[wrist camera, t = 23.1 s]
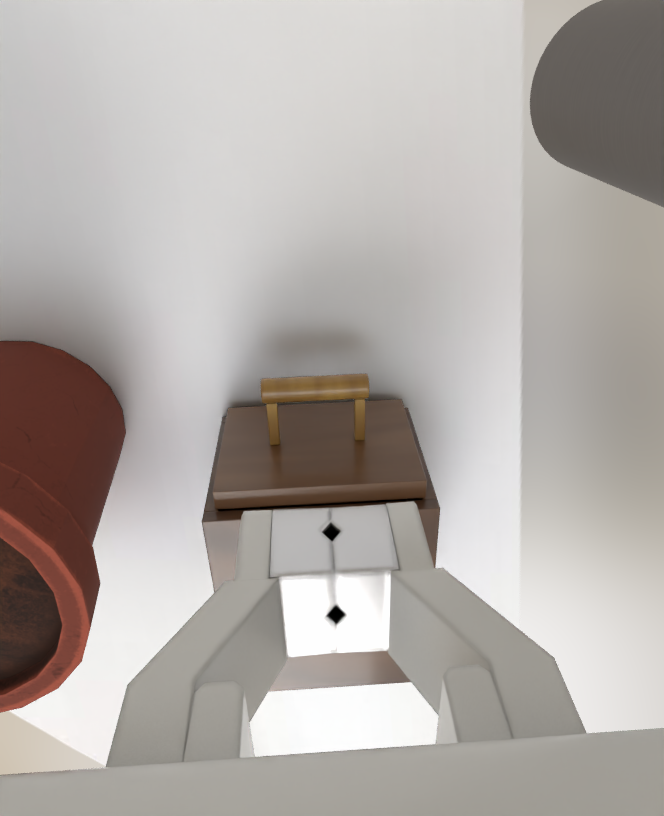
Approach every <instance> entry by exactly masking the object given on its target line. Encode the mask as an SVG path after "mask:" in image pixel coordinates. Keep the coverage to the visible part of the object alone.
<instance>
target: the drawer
mask: <svg viewBox="0 0 664 816" xmlns="http://www.w3.org/2000/svg"><path fill="white" fill-rule="evenodd" d="M365 398H369V378H368V374H347V375H327V376H306V377H286V378H265V379H261V399H262V403H264V404H265V403H266V406H255V407H236V408H228V411H227V416H226V422H225V427H224V433H223V438H222V443H221V449H220V454H219V460H218V465H217V471H216V476H215V481H214V487H213V492H212V493H213V499H214V505H215V509H232V508H234V509H233V511H234V510H252V509H270V508H288V507H305V506H323V505H341V504H359V503H377V502H394V501H408V500H407V499H410V498H425V497H426V486H427V479H426V476H425V473H424V470H423V467H422V463H421V460H420V457H419V454H418V450H417V447H416V444H415V441H414V438H413V434H412V431H411V428H410V425H409V421H408V418H407V415H406V412H405V408H404V405H403V402H402V399H394V400H374V401H365ZM344 399H354V402H335V403H315V404H295V405H277V403H285V402H305V401H325V400H344Z"/></svg>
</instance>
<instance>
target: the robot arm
mask: <svg viewBox="0 0 664 816" xmlns="http://www.w3.org/2000/svg"><path fill="white" fill-rule="evenodd" d="M372 651H388V654H389V655H390V656H391V657H392V659H393V660H394V661H395V662H396V664H397V665H398V666H399V667H400V669H401V670H402V671H403V672H404V674H405V675H406V676H407V677H408V678H409V680H410V681H411V682H412V683H413V685H414V686H415V687H416V688H417V690H418V691H419V692H420V693H421V695H422V696H423V697H424V698H425V700H426V701H427V702H428V703H429V705H430V706H431V707H432V708H433V709H434V711H435V712H436V713H437V714H438V716H439V718H438V727H437V736H436V744H433V745H419V746H405V747H390V748H376V749H362V750H347V751H333V752H319V753H305V754H290V755H276V756H262V757H255V755H254V749H253V742H252V736H251V730H250V723H249V722H250V721H251V719H252V717H253V716H254V714H255V712H256V711H257V709H258V707H259V706H260V704H261V702H262V701H263V699H264V698H265V696H266V694H267V693H268V691H269V689H270V688H271V686H272V684H273V683H274V681H275V679H276V678H277V676H278V674H279V673H280V671H281V669H282V668H283V666H284V665H285V663H286V661H287V657H297V656H308V655H319V654H330V653H337V652H338V653H346V652H372ZM0 816H664V728H657V729H643V730H629V731H614V732H600V733H586V731H585V728H584V726H583V724H582V721H581V719H580V717H579V714H578V712H577V710H576V708H575V705H574V703H573V700H572V698H571V696H570V694H569V691H568V689H567V687H566V684H565V682H564V680H563V677H562V675H561V673H560V671H559V668H558V666H557V664H556V661H555V659H554V657H553V656H551V655H550V654H549V653H548V652H546V651H545V650H544V649H543V648H541V647H540V646H539V645H538V644H536V643H535V642H534V641H533V640H531V639H530V638H529V637H528V636H527V635H525V634H524V633H523V632H522V631H520V630H519V629H518V628H517V627H515V626H514V625H513V624H512V623H510V622H509V621H508V620H507V619H505V618H504V617H503V616H502V615H501V614H499V613H498V612H497V611H496V610H494V609H493V608H492V607H491V606H489V605H488V604H487V603H486V602H484V601H483V600H482V599H481V598H479V597H478V596H477V595H476V594H475V593H473V592H472V591H471V590H470V589H468V588H467V587H466V586H465V585H463V584H462V583H461V582H460V581H458V580H457V579H456V578H455V577H453V576H452V575H451V574H450V573H449V572H447V571H446V570H445V569H444V568H435V569H434V565H433V561H432V558H431V554H430V551H429V547H428V543H427V540H426V536H425V533H424V529H423V525H422V522H421V518H420V515H419V511H418V508H417V505H416V503H415V502H414V501H411V502H398V503H386V504H381V505H365V506H349V507H333V508H303V509H274V510H273V511H272V510H258V511H244V512H243V514H242V516H241V524H240V532H239V541H238V550H237V559H236V568H235V577H234V581H225V582H224V583H223V584H222V585H221V586H220V588H219V589H218V590H217V591H216V592H215V593H214V594H213V595H212V596H211V597H210V598H209V599H208V600H207V601H206V602H205V603H204V604H203V606H202V607H201V608H200V609H199V610H198V611H197V612H196V613H195V614H194V615H193V616H192V617H191V618H190V619H189V620H188V621H187V622H186V624H185V625H184V626H183V627H182V628H181V629H180V630H179V631H178V632H177V633H176V634H175V635H174V636H173V637H172V638H171V639H170V640H169V642H168V643H167V644H166V645H165V646H164V647H163V648H162V649H161V650H160V651H159V652H158V653H157V654H156V655H155V656H154V657H153V659H152V660H151V661H150V662H149V663H148V664H147V665H146V666H145V667H144V668H143V669H142V670H141V671H140V672H139V673H138V674H137V675H136V677H135V678H134V679H133V680H132V681H131V682H130V683H129V684H128V685H127V689H126V693H125V696H124V700H123V704H122V708H121V711H120V715H119V719H118V723H117V726H116V730H115V734H114V738H113V741H112V745H111V749H110V753H109V756H108V760H107V764H106V768H92V769H78V770H65V771H50V772H35V773H21V774H8V775H0Z"/></svg>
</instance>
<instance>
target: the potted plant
mask: <svg viewBox="0 0 664 816" xmlns="http://www.w3.org/2000/svg"><path fill="white" fill-rule="evenodd" d="M125 433H126V431H125V425H124V418H123V411H122V408H121V406H120V405H119V403H118V401H117V399H116V397H115V395H114V393H113V391H112V390H111V388H110V386H109V385H108V384H107V383H106V382H105V381H104V380H103V379H102V378H101V377H100V376H99V375H98V374H97V373H96V372H95V371H94V370H93V369H92V368H91V367H90V366H88V365H87V364H85V363H83V362H82V361H80V360H78V359H77V358H75V357H73V356H71V355H70V354H68V353H66V352H65V351H63V350H60V349H56V348H53V347H49V346H46V345H42V344H39V343H35V342H25V341H0V712H5V711H9V710H13V709H18V708H22V707H24V706H26V705H28V704H30V703H31V702H33V701H35V700H37V699H39V698H41V697H43V696H45V695H46V694H48V693H50V692H52V691H54V690H56V689H58V688H59V687H60V685H61V684H62V683H63V682H64V681H65V680H66V679H67V678H68V676H69V675H70V674H71V673H72V672H73V671H74V670H75V668H76V667H77V666H78V665H79V664H80V663H81V662H82V658H83V654H84V650H85V647H86V643H87V639H88V635H89V631H90V627H91V623H92V618H93V614H94V609H95V605H96V600H97V596H98V591H99V587H100V580H99V575H98V570H97V565H96V560H95V555H94V551H93V547H92V544H93V541H94V538H95V534H96V531H97V528H98V525H99V522H100V518H101V515H102V512H103V509H104V505H105V502H106V499H107V496H108V493H109V489H110V486H111V483H112V480H113V476H114V473H115V470H116V467H117V463H118V460H119V457H120V454H121V450H122V446H123V442H124V438H125Z"/></svg>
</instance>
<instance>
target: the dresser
mask: <svg viewBox="0 0 664 816" xmlns="http://www.w3.org/2000/svg"><path fill="white" fill-rule="evenodd" d="M405 412H406V415H407V418H408V421H409V425H410V428H411V431H412V434H413V438H414V441H415V444H416V447H417V450H418V454H419V457H420V460H421V463H422V467H423V470H424V473H425V476H426V479H427V486H426V497H425V498H410V499H407V500H408V501H394V502H377V503H359V504H341V505H323V506H305V507H288V508H270V509H252V510H234V511H233V509H234V508H232V509H215V505H214V499H213V493H212V492H213V487H214V481H215V476H216V471H217V465H218V460H219V454H220V449H221V443H222V438H223V433H224V427H225V422H226V417H223V418H222V422H221V427H220V432H219V437H218V442H217V448H216V453H215V458H214V463H213V468H212V473H211V478H210V483H209V488H208V494H207V499H206V504H205V509H204V514H203V519H202V525H203V531H204V536H205V542H206V548H207V553H208V559H209V564H210V570H211V576H212V581H213V587H214V592H216V591H217V590H218V589H219V588H220V586H221V585H222V584H223V583H224V582H225V581H234V577H235V568H236V559H237V550H238V541H239V532H240V524H241V516H242V514H243V512H244V511H258V510H272V511H273V510H274V509H303V508H333V507H349V506H365V505H381V504H386V503H398V502H411V501H414V502H415V503H416V505H417V508H418V511H419V515H420V518H421V522H422V525H423V529H424V533H425V536H426V540H427V543H428V547H429V551H430V554H431V558H432V561H433V565H434V569H435V563H436V551H437V539H438V527H439V515H440V507H439V503H438V500H437V497H436V494H435V491H434V488H433V485H432V481H431V478H430V475H429V472H428V469H427V466H426V463H425V460H424V456H423V453H422V450H421V447H420V444H419V441H418V438H417V435H416V432H415V428H414V425H413V422H412V419H411V416H410V413H409V410H408V408H405ZM404 682H411V681H410V680H409V678H408V677H407V676H406V675H405V674H404V672H403V671H402V670H401V669H400V667H399V666H398V665H397V664H396V662H395V661H394V660H393V659H392V657H391V656H390V655H389V654H388V651H372V652H346V653H338V652H337V653H330V654H319V655H308V656H297V657H287V661H286V663H285V665H284V666H283V668H282V669H281V671H280V673H279V674H278V676H277V678H276V679H275V681H274V683H273V684H272V686H271V688H270V689H269V691H283V690H298V689H313V688H328V687H343V686H358V685H373V684H389V683H404Z"/></svg>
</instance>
